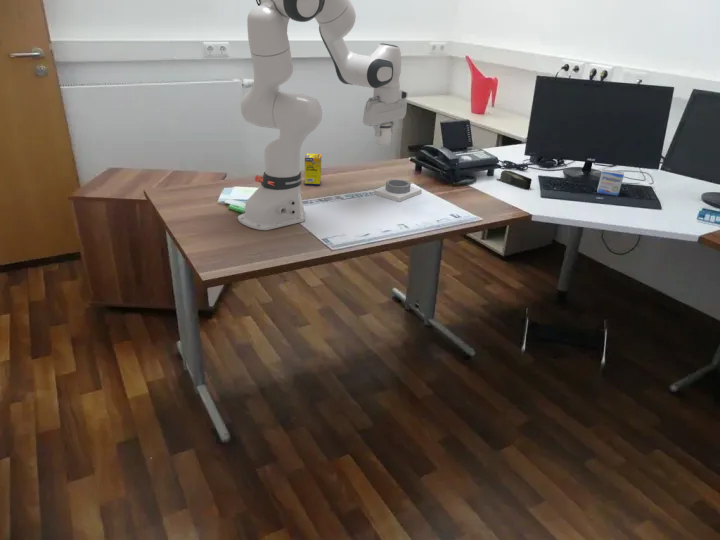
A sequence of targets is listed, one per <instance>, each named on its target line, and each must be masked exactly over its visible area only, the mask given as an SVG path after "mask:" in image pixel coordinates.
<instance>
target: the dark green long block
mask: <svg viewBox="0 0 720 540" xmlns="http://www.w3.org/2000/svg"><path fill="white" fill-rule="evenodd" d="M496 181H499V182H502V183H505V184H508V185H511V186H512V187H516V188H518V189H521V190H531V185H532V181H533V179H532V178H530V177H527V176H526V175H525V176H524V175H523V174H520V173H517V172H514V171H512V170H507V169H506V170H502V171H501V172H500V178H496Z"/></svg>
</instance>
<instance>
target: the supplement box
mask: <svg viewBox="0 0 720 540" xmlns="http://www.w3.org/2000/svg"><path fill="white" fill-rule="evenodd" d="M321 183H322V153H306V154H305V156H304V186H313V187H320V186H321Z"/></svg>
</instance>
